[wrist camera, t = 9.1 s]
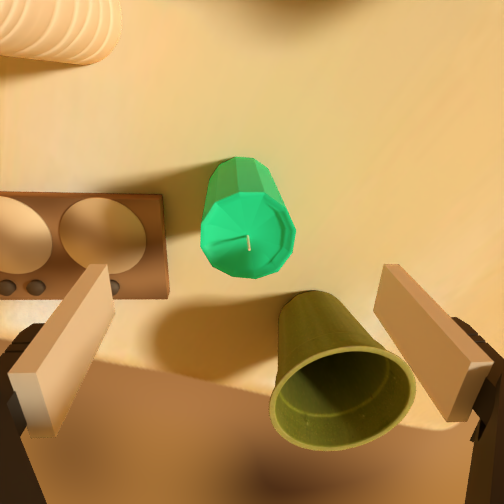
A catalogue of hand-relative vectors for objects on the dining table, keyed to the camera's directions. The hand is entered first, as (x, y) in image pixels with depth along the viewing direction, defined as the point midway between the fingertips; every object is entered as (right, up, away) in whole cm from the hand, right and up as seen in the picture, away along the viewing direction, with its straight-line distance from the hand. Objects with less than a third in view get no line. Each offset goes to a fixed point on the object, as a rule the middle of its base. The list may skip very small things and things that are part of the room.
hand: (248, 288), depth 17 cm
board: (-21, +2, +15) cm, 26 cm away
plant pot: (+7, -5, +21) cm, 23 cm away
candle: (-1, +7, +14) cm, 16 cm away
